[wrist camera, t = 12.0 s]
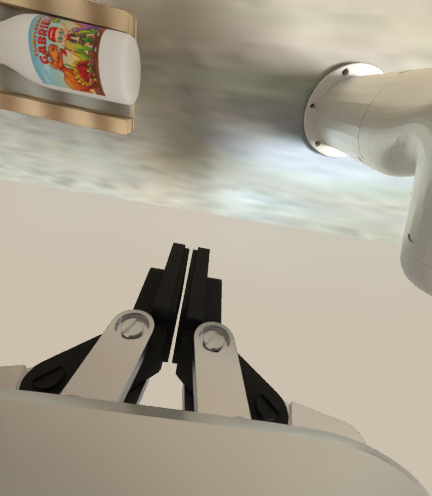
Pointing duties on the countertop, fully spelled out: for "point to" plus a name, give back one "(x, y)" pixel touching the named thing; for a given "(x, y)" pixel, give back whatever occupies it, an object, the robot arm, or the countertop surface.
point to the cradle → (58, 102)
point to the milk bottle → (72, 57)
